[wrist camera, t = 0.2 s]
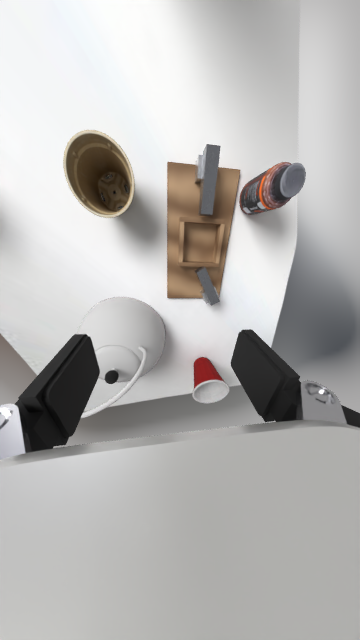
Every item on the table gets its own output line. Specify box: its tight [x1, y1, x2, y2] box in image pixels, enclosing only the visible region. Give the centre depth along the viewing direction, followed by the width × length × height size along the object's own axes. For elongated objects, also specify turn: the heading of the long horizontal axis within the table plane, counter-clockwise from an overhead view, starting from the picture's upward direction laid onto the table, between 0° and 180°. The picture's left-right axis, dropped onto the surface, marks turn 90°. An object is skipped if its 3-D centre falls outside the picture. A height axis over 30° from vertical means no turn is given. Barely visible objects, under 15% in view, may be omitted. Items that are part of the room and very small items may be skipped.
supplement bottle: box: [240, 162, 306, 215], centre depth 27 cm, size 6×6×11 cm
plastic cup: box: [193, 357, 229, 403], centre depth 48 cm, size 11×11×12 cm
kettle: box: [77, 297, 165, 418], centre depth 35 cm, size 25×23×22 cm
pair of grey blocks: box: [195, 144, 220, 306], centre depth 33 cm, size 28×8×5 cm, turn 178°
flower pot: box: [63, 130, 135, 218], centre depth 25 cm, size 9×9×9 cm
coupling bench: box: [167, 162, 240, 298], centre depth 34 cm, size 26×14×3 cm, turn 178°
